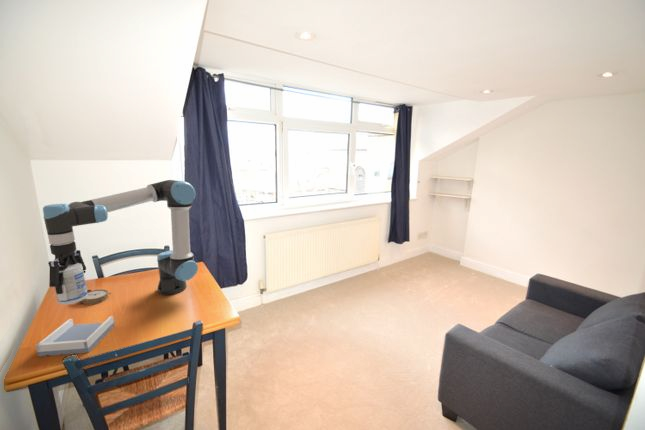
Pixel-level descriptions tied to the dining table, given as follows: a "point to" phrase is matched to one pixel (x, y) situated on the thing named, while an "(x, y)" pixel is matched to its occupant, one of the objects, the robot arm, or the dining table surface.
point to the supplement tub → (74, 284)
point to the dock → (74, 338)
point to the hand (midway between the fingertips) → (72, 293)
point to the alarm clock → (95, 296)
